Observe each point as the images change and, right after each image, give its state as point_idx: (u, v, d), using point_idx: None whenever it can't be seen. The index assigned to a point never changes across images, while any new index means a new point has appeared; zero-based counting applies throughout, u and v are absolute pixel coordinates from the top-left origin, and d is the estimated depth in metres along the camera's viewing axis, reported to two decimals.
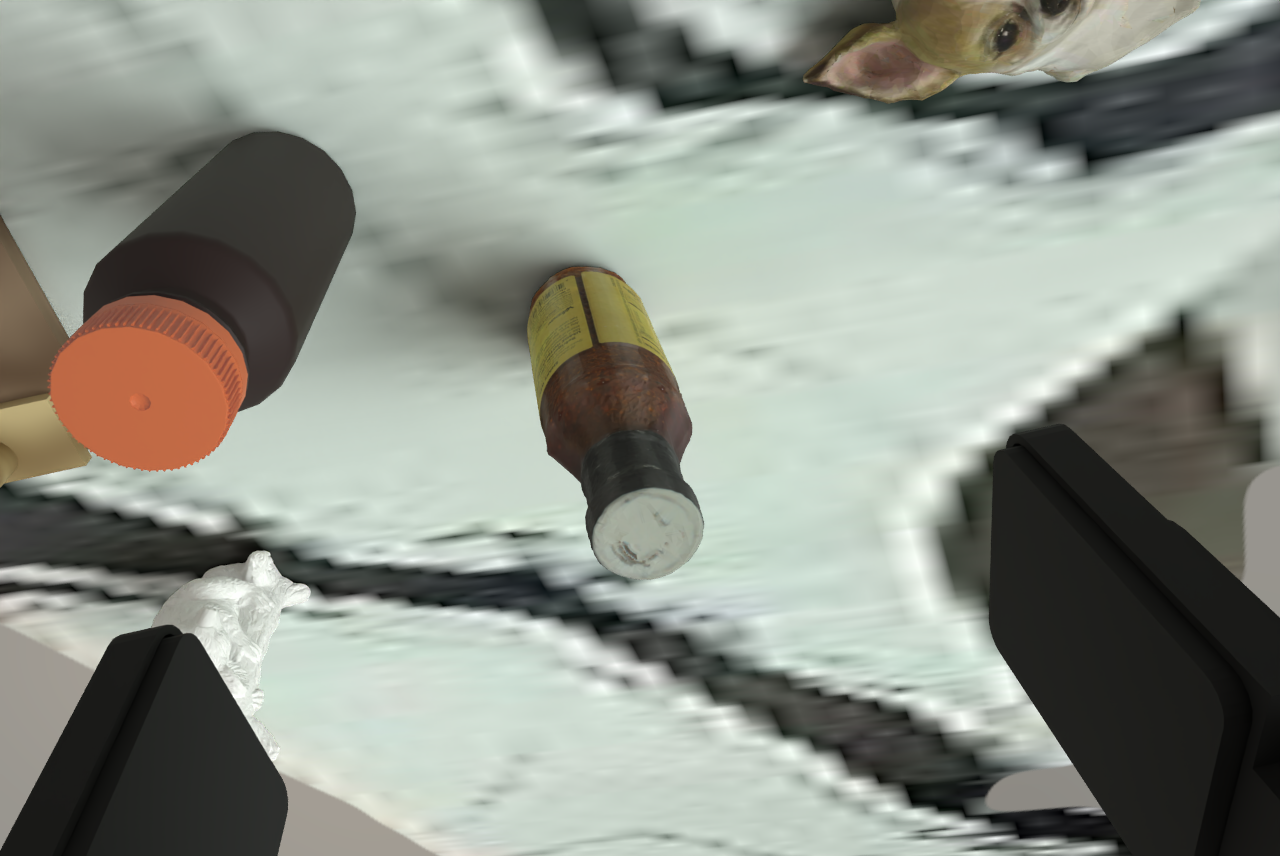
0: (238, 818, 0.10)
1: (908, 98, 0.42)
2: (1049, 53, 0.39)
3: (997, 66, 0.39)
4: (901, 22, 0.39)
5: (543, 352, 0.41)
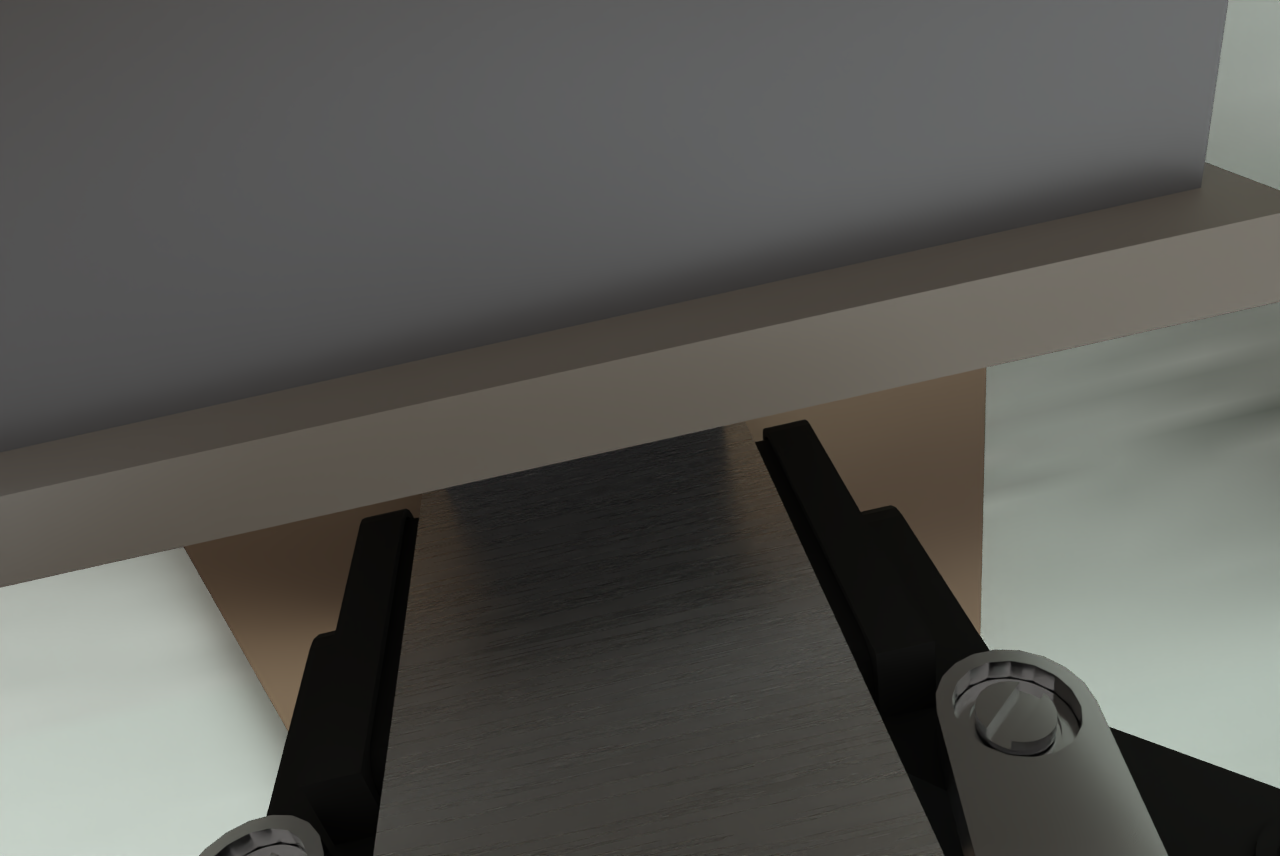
0: None
1: None
2: None
3: None
4: None
5: None
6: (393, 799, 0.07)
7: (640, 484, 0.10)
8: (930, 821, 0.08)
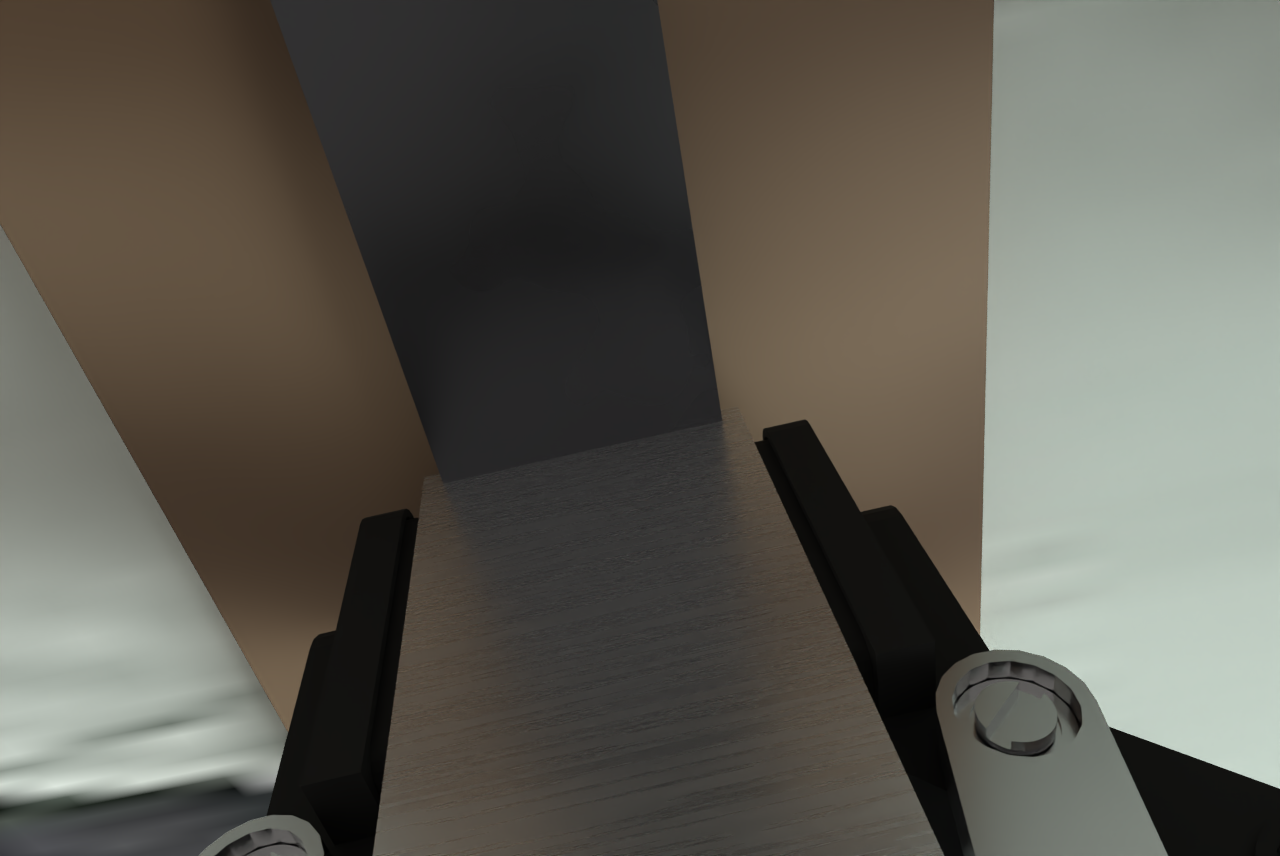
0: None
1: None
2: None
3: None
4: None
5: None
6: (393, 799, 0.07)
7: (640, 484, 0.10)
8: (930, 821, 0.08)
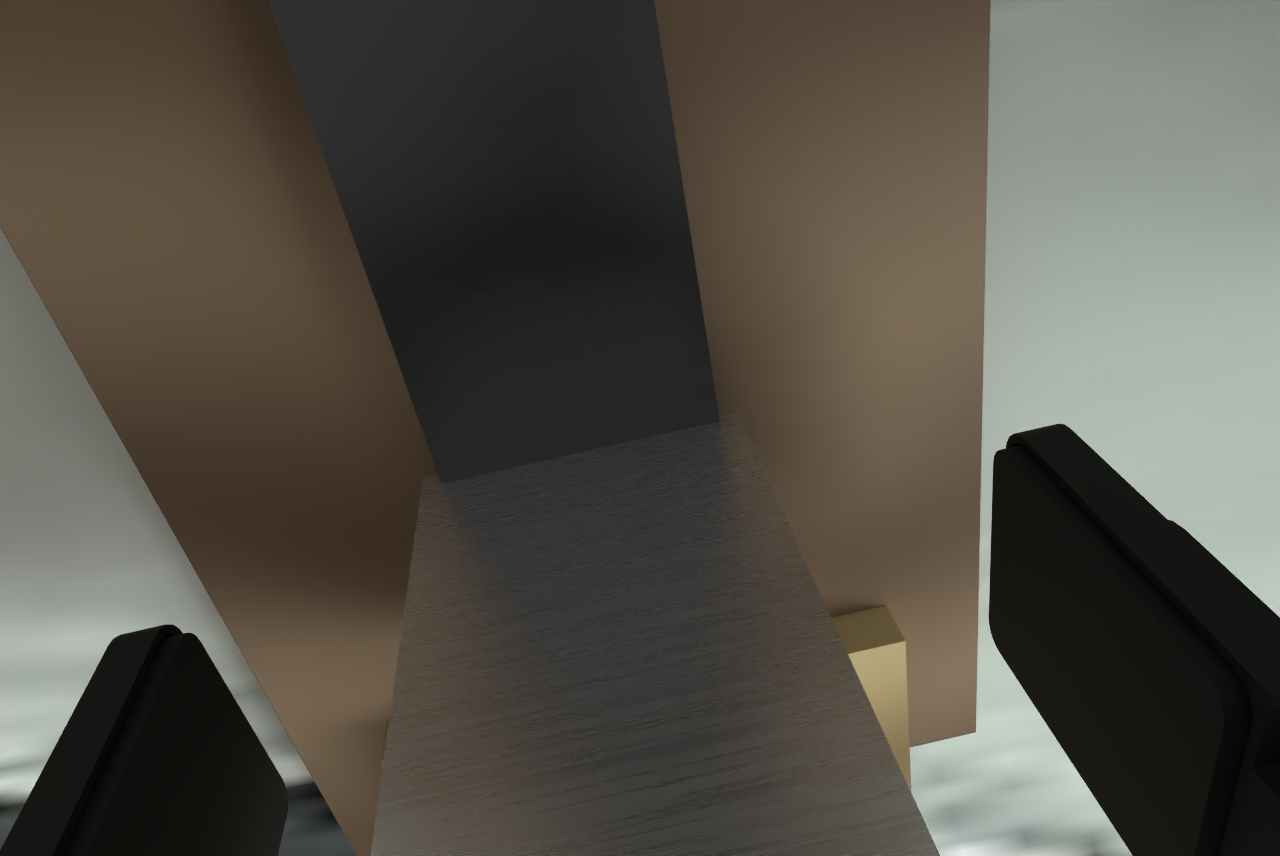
0: (238, 818, 0.10)
1: None
2: None
3: None
4: None
5: None
6: (390, 799, 0.07)
7: (637, 485, 0.10)
8: None
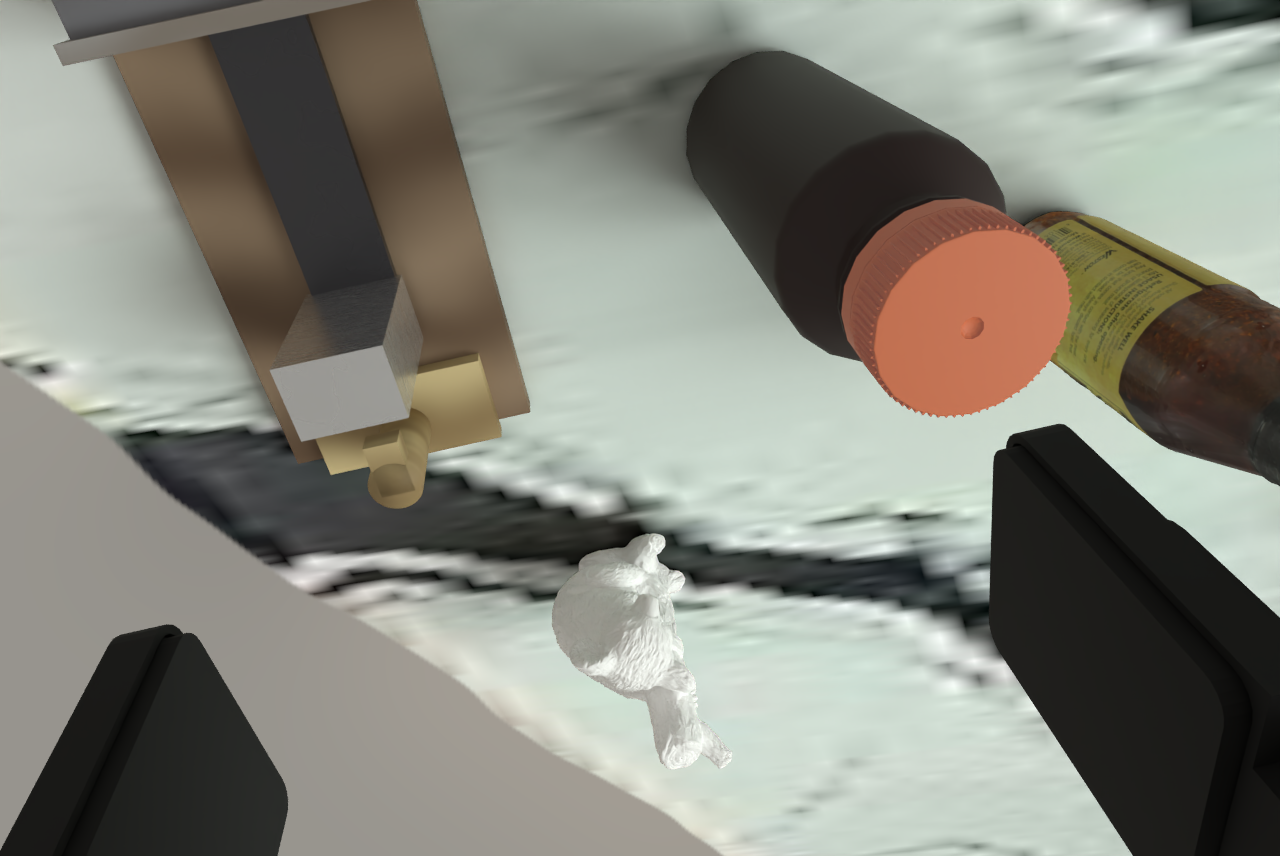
0: (238, 818, 0.10)
1: None
2: None
3: None
4: None
5: (1099, 300, 0.35)
6: (285, 342, 0.34)
7: (364, 292, 0.37)
8: None
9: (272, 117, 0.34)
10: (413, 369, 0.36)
